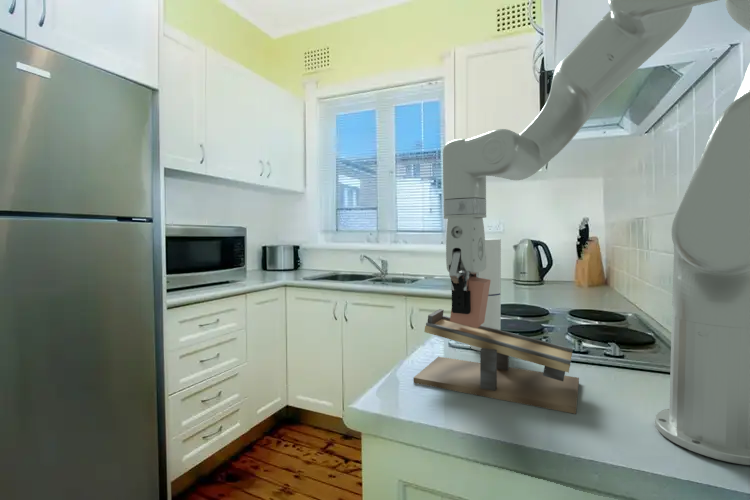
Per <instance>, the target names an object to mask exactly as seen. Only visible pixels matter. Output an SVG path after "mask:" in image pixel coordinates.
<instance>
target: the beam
mask: <svg viewBox="0 0 750 500" xmlns="http://www.w3.org/2000/svg"><path fill="white" fill-rule="evenodd" d="M444 312H445V311H444V309H441V308H439V309H437V310H436V311H434V312H432V313H430V314H428V316H427V321H426V323H425V325H424V333H426V334H431V335H433V336H436V337H441V338H445V339H448V340H450V341H451V340H452V341H455V342H459V343H462V344H466V345H468V346H469V345H472V346H476V347H479V348H487V349H495V350H497V353H501V354H504V355H508V356H509V357H512V358H516V359H519V360H522V361H525V362H526V361H527V362H529V363H534V364H536V365H537V364H538V365H540V366H544V368H543V372H544V373H543V376H546V377H549V378H553V379H556V380H560V381H563V380H564V376H566V375H565V374H566V373H568V374H569V372H570V367H571V363H572V356H573V351H574V348H573V347H568V346H564V345H560V344H556V343H553V342H548V341H546V340H540V339H537V338H533V337H529V336H527V335H521V334H517V333H513V332H510V331H507V330H506V331H505V330H502V329H501V330H498V329H494V328H490V327H486V326H482V325H480V326H479V327H478V328H475V327H471V326H467V325H463V324H459V323H455V322H451V321H450V316H447V315H444Z"/></svg>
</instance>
